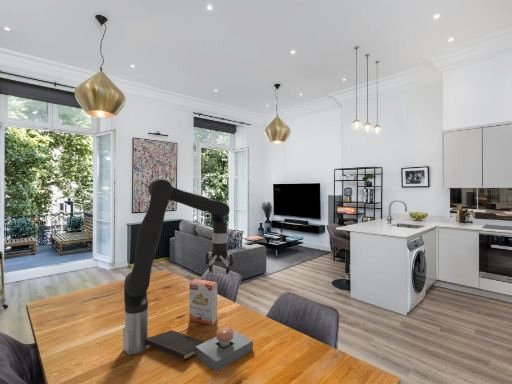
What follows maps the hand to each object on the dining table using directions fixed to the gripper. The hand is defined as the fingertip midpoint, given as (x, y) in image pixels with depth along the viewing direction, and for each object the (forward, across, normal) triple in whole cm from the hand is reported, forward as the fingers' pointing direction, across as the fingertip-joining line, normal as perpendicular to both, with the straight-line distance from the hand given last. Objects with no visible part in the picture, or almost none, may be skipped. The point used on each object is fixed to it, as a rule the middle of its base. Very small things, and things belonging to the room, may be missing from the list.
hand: (219, 273), depth 140 cm
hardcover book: (+27, -12, -22) cm, 37 cm away
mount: (+27, +10, -22) cm, 36 cm away
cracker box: (+27, -9, +3) cm, 29 cm away
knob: (+24, +10, -22) cm, 34 cm away
